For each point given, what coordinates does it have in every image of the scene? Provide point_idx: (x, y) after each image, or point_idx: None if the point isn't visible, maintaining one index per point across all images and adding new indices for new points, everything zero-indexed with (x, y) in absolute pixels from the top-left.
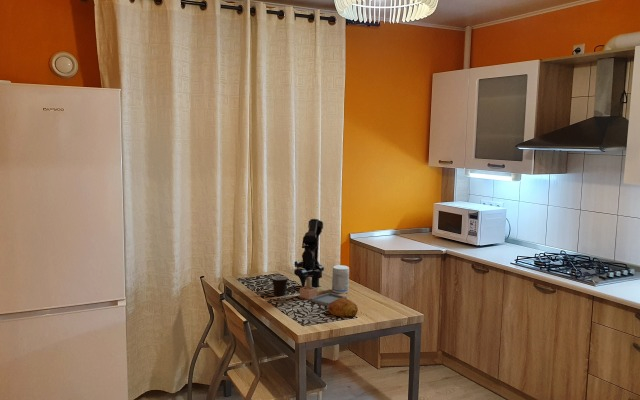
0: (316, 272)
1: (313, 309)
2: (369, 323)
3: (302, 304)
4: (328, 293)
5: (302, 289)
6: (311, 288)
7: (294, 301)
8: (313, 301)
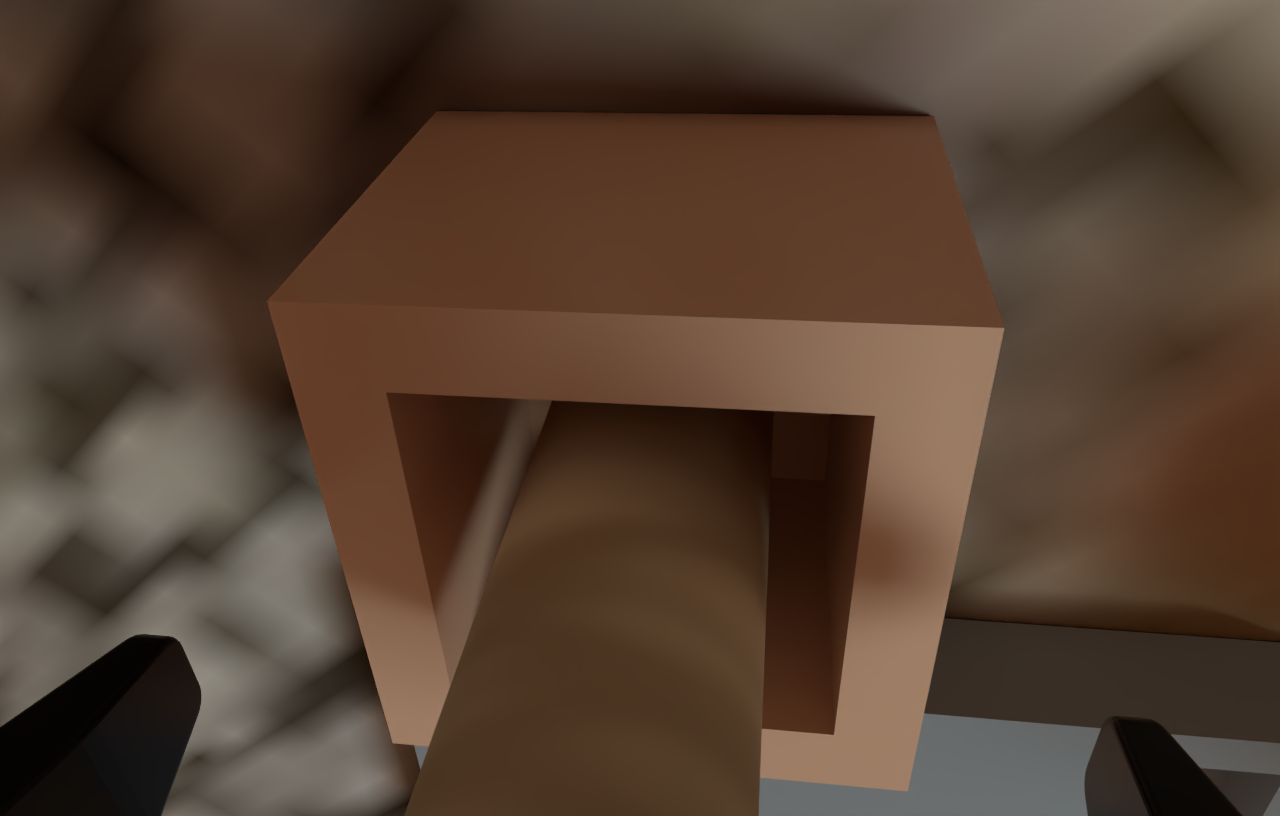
0: None
1: (193, 803)
2: None
3: (147, 538)
4: (1208, 764)
5: (323, 432)
6: (850, 548)
7: (60, 247)
8: None
